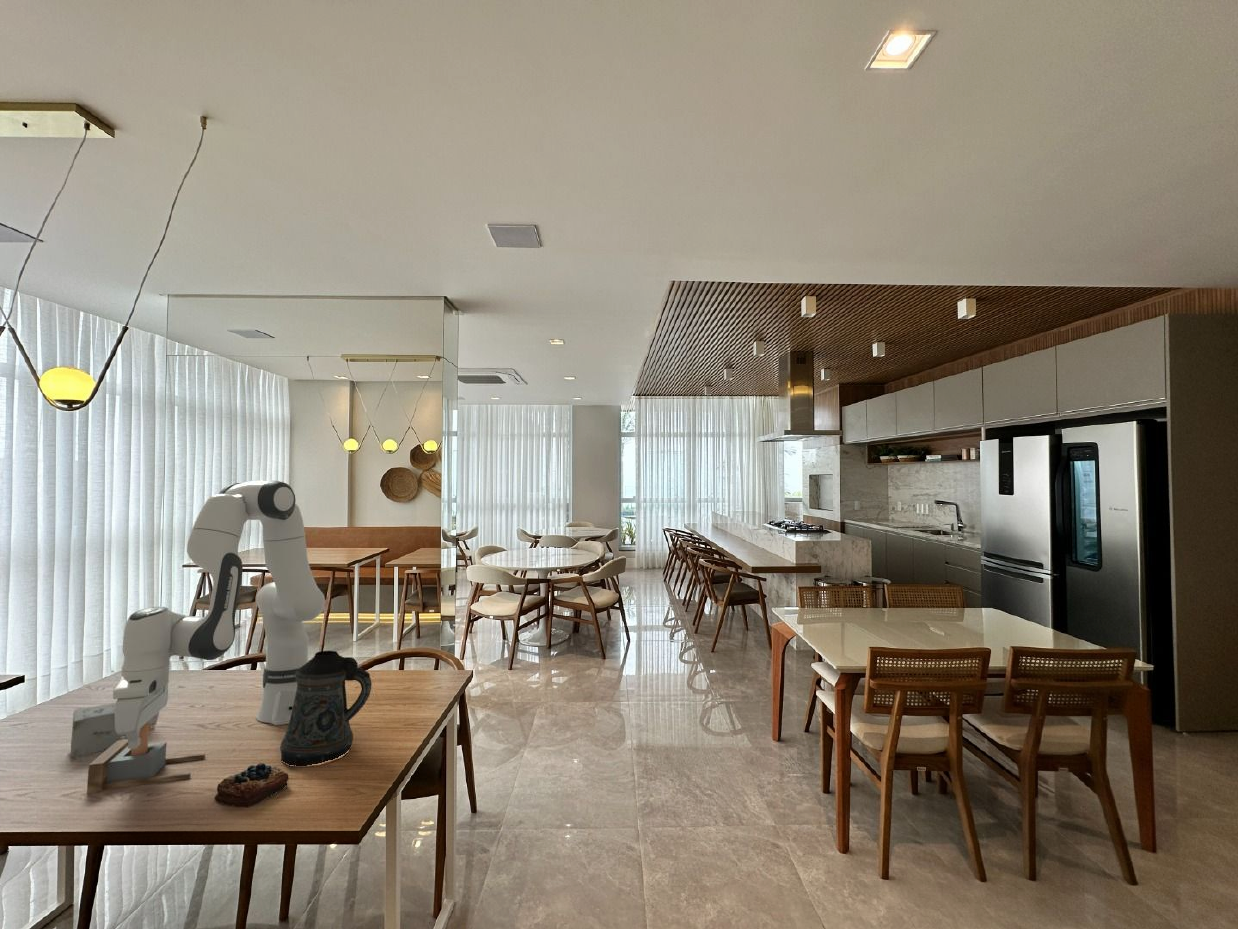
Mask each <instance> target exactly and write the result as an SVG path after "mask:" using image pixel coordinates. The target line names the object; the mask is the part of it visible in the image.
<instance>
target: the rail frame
mask: <svg viewBox="0 0 1238 929" xmlns="http://www.w3.org/2000/svg"><path fill="white" fill-rule="evenodd" d="M126 746H128V740H127V738H126V739H122V740H118V741H116V742H115V743H114V744H113V745H112V746H110V747H109V748H108V749H107V750H104V751H102V753H101V754H100V755H99V756H98V757H96V758H95V759H94V760H92V762H90V763H89V764H88V772H87V783H86V784H87V787H86V794H93V793H100V792H101V793H102V791H104V790H109V789H117V788H126V787H133V786H141V785H148V784H157V783H164V782H172V781H173V782H174V781H181V780H188V779H190V778H191V772H190V771H189V772H181V773H174V774H165V775H158V776H156V775H155V776H154V777H148V778H140V779H132V780H124V781H116V782H108V783H107V773H108V762H109V761H110V760H111V759H112V758H114V757H115V756H116V755H117V754H118V753H119V752H120V751H121V750H122V749H124V748H125V747H126ZM205 758H206V753H205V752H203V753H194V754H187V755H177V756H169V757H166V759H165V764H166V765H167V764H173V763H181V762H182V763H183V762H189V761H196V760H197V761H199V760H204V759H205ZM165 764H164V765H165Z"/></svg>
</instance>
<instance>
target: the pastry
mask: <svg viewBox="0 0 1238 929" xmlns="http://www.w3.org/2000/svg"><path fill="white" fill-rule="evenodd" d="M289 778H290V777H289V774H288V772H286V771H284V770H283V769H282V768H279V767H277V766H273V767H272V766H271V765H266V764H265V763H263V762H260V763H257V764H256V765H255V764H254V765H253V764H251V765H249V766H248V767H247V769H244V770H243V771H241V772H240V773H236V774H234V775H229V776H228V777H226V778H224V779H223V780H222V781H220V782H219V783H217V788H216V791H217V793H216V795H214V800H215V801H216V802H218V803H219V804H222V805H227V806H231V807H236V808H237V807H238V808H250V807H252V806H255V805H257V804H259V803H261V802H263V801H265V800H266V799H268V798H270V797H272V796H274V795H273V794H275V793H276V792H277V793H279V792H281V791H282V790H284V789H285V788H286V787H285V786H288V781H289ZM284 787H285V788H284ZM283 788H284V789H283ZM280 790H281V791H280ZM278 791H279V792H278ZM277 793H276V794H277ZM276 794H275V795H276ZM271 795H272V796H271ZM267 797H268V798H267ZM264 799H265V800H264ZM262 800H263V801H262ZM256 803H257V804H256Z"/></svg>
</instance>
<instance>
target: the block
mask: <svg viewBox="0 0 1238 929" xmlns="http://www.w3.org/2000/svg"><path fill="white" fill-rule="evenodd" d="M166 756H167V741H164V742H155V743H148V750H147V754H144V755H135V756H131V749H128V746H126V747H125V748H124V749H122V750H121V751H120V752H119V753H118V754H117V755H116V756H115V757H114V758H112V759H111V760H110V761H109V762H108V773H107V783H108V782H116V781H124V780H132V779H140V778H148V777H155V776H156V774H157V773H158V772H159V771H160V770H161V769H162V768H163V767H164V765H165V759H166V758H167V757H166Z"/></svg>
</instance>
